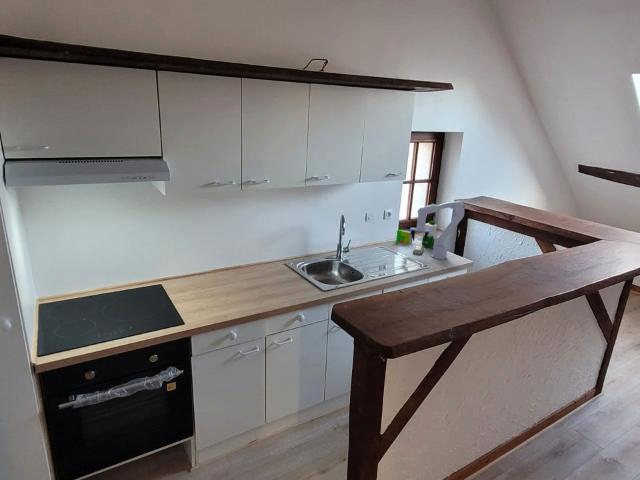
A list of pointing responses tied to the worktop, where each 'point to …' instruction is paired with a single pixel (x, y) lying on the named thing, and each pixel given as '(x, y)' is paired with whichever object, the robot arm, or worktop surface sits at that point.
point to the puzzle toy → (404, 236)
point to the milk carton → (429, 235)
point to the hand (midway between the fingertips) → (418, 241)
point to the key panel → (418, 251)
